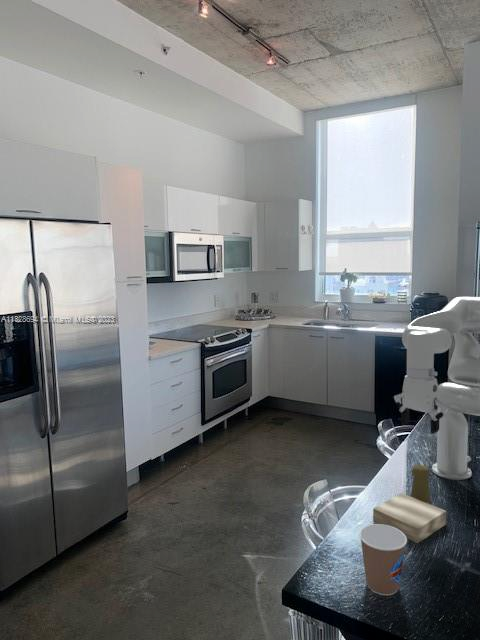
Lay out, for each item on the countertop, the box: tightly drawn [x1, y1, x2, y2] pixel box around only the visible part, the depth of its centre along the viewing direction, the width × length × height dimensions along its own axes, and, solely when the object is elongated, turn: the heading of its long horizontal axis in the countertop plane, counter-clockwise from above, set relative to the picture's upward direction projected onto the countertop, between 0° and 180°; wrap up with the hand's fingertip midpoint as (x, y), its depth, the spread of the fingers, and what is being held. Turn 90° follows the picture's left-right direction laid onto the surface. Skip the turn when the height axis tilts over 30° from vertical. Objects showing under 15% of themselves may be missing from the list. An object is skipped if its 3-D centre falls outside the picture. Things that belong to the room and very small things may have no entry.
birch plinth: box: [372, 492, 447, 544], centre depth 135 cm, size 14×14×4 cm
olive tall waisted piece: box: [410, 464, 432, 505], centre depth 147 cm, size 6×6×11 cm
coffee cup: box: [358, 523, 408, 596], centre depth 109 cm, size 10×10×12 cm
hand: (419, 428), depth 145 cm, fingers open, 9 cm apart
